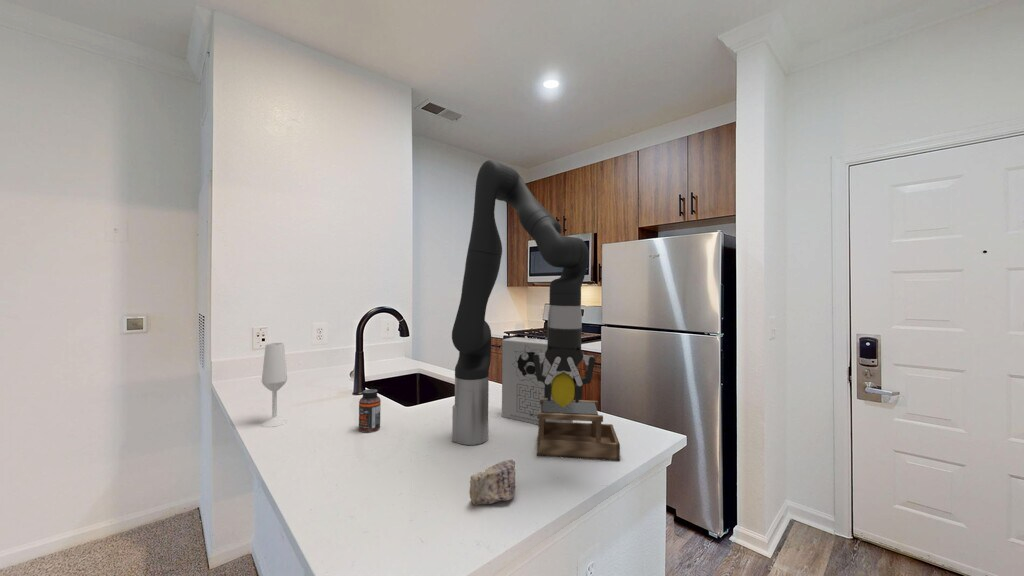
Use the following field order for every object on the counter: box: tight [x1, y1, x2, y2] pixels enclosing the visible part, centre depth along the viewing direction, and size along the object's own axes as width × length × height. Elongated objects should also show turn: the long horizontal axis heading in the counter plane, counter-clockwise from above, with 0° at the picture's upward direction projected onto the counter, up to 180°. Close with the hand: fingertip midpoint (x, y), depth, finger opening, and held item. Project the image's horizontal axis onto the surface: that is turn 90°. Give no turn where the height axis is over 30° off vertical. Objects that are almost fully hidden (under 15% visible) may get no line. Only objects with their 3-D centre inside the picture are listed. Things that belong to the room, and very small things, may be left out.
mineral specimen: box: [469, 458, 516, 506], centre depth 79 cm, size 13×7×6 cm, turn 146°
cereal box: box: [501, 336, 574, 426], centre depth 124 cm, size 22×8×25 cm, turn 58°
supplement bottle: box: [358, 388, 382, 433], centre depth 115 cm, size 6×6×11 cm
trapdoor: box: [542, 400, 599, 421], centre depth 104 cm, size 14×10×2 cm
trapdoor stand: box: [536, 399, 621, 462], centre depth 103 cm, size 20×14×10 cm
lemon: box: [551, 372, 576, 408], centre depth 88 cm, size 6×6×8 cm
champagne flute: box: [261, 342, 288, 428], centre depth 120 cm, size 7×7×24 cm
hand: (563, 400), depth 88 cm, fingers closed on lemon, 5 cm apart
